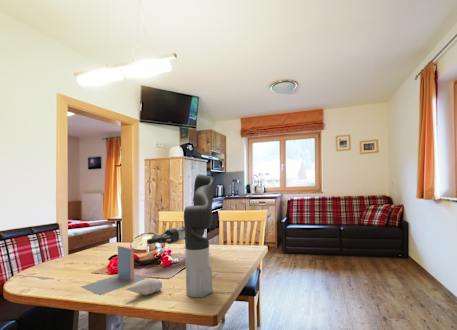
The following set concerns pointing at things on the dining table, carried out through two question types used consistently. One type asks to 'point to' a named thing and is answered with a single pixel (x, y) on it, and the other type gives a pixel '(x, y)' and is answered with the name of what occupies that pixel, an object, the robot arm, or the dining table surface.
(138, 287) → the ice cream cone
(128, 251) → the tile
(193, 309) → the dining table surface
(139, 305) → the dining table surface
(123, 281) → the mat
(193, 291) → the robot arm
